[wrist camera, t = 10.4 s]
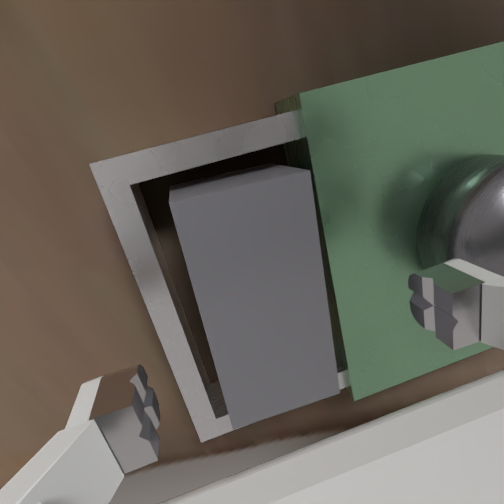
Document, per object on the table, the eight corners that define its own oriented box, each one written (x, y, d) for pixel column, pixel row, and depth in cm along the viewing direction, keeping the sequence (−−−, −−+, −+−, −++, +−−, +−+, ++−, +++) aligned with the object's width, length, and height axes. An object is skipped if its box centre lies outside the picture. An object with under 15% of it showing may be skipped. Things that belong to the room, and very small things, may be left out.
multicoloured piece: (98, 148, 14) (46, 150, 8) (512, 42, 16) (693, -13, 10) (200, 411, 18) (212, 528, 13) (507, 298, 21) (629, 353, 15)
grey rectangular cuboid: (170, 185, 15) (168, 203, 10) (268, 162, 15) (310, 170, 11) (217, 355, 18) (233, 429, 13) (297, 330, 18) (340, 393, 14)
